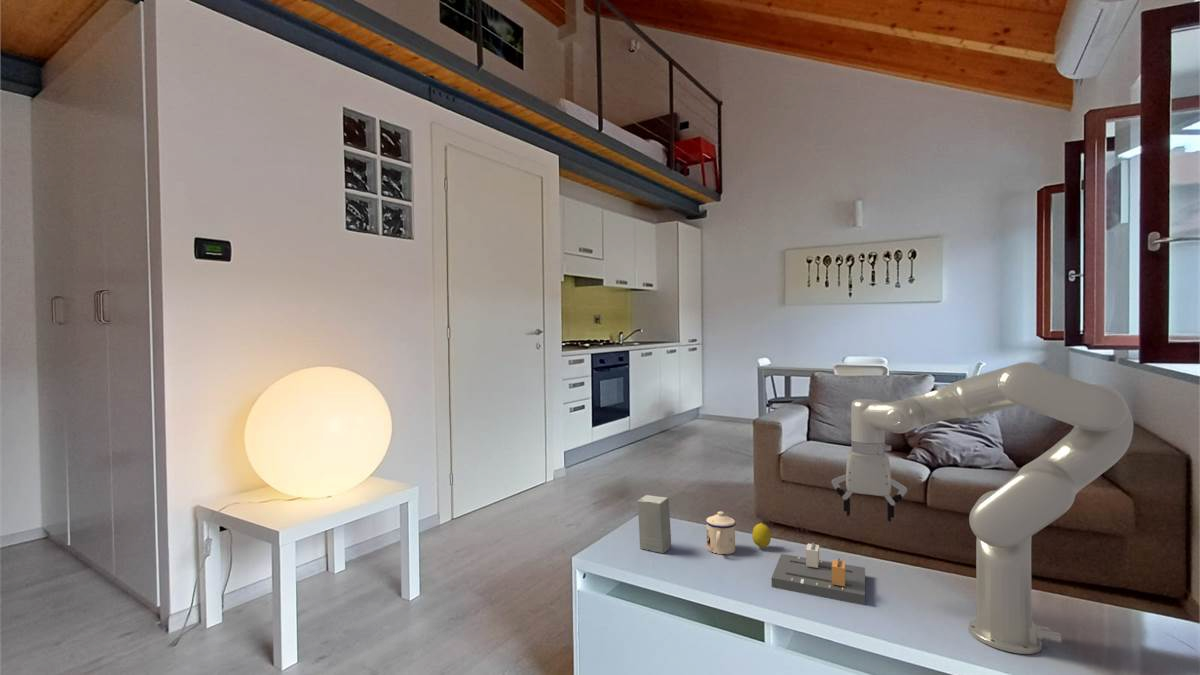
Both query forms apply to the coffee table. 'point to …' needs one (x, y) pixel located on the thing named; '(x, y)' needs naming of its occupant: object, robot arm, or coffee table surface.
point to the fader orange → (838, 572)
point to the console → (818, 579)
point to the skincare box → (654, 523)
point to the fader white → (812, 555)
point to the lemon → (761, 535)
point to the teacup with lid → (720, 534)
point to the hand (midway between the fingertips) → (868, 517)
